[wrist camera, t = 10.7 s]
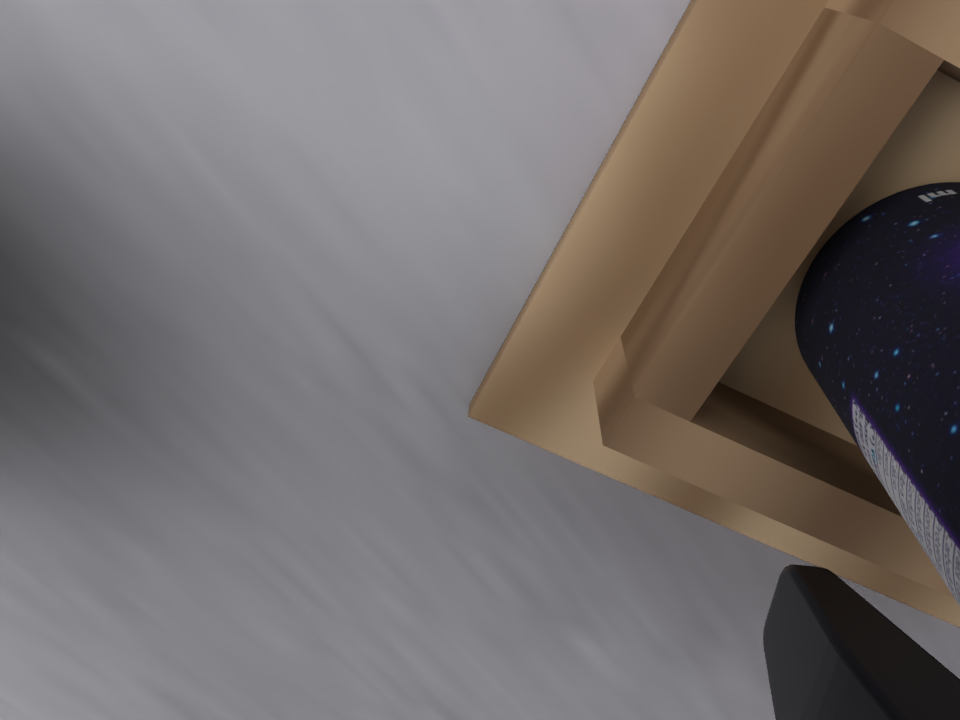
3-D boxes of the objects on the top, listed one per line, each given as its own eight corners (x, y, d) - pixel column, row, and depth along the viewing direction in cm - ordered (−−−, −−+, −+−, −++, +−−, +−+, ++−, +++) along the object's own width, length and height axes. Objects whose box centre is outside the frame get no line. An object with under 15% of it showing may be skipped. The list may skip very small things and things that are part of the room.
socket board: (469, 404, 23) (460, 483, 20) (829, -253, 16) (906, -295, 13) (953, 613, 25) (1014, 713, 22) (1442, 125, 19) (1634, 168, 15)
